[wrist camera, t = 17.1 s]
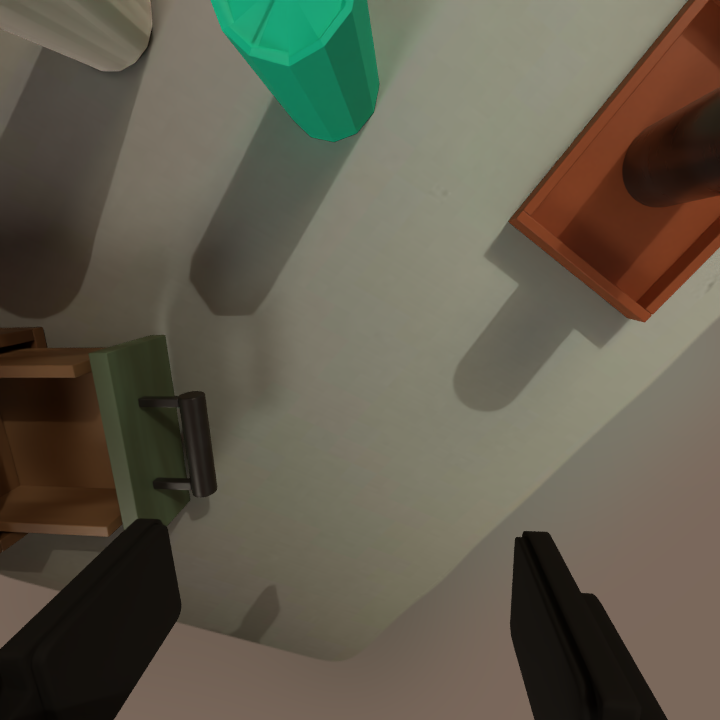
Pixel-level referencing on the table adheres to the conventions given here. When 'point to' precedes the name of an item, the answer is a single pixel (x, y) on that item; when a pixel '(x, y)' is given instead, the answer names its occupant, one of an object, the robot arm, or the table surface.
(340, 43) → the candle
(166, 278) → the table surface
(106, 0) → the cup
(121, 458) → the drawer
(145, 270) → the table surface
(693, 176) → the cylinder
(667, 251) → the tray
